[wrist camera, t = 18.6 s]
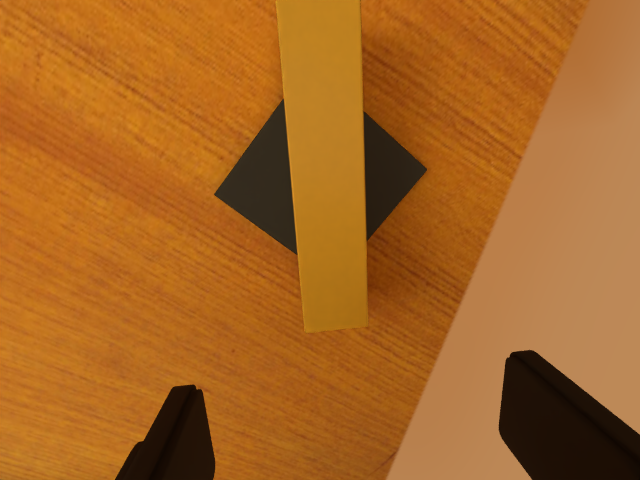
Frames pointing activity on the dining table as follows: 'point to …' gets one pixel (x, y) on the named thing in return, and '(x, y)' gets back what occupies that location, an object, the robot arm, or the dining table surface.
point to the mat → (275, 179)
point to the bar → (326, 157)
